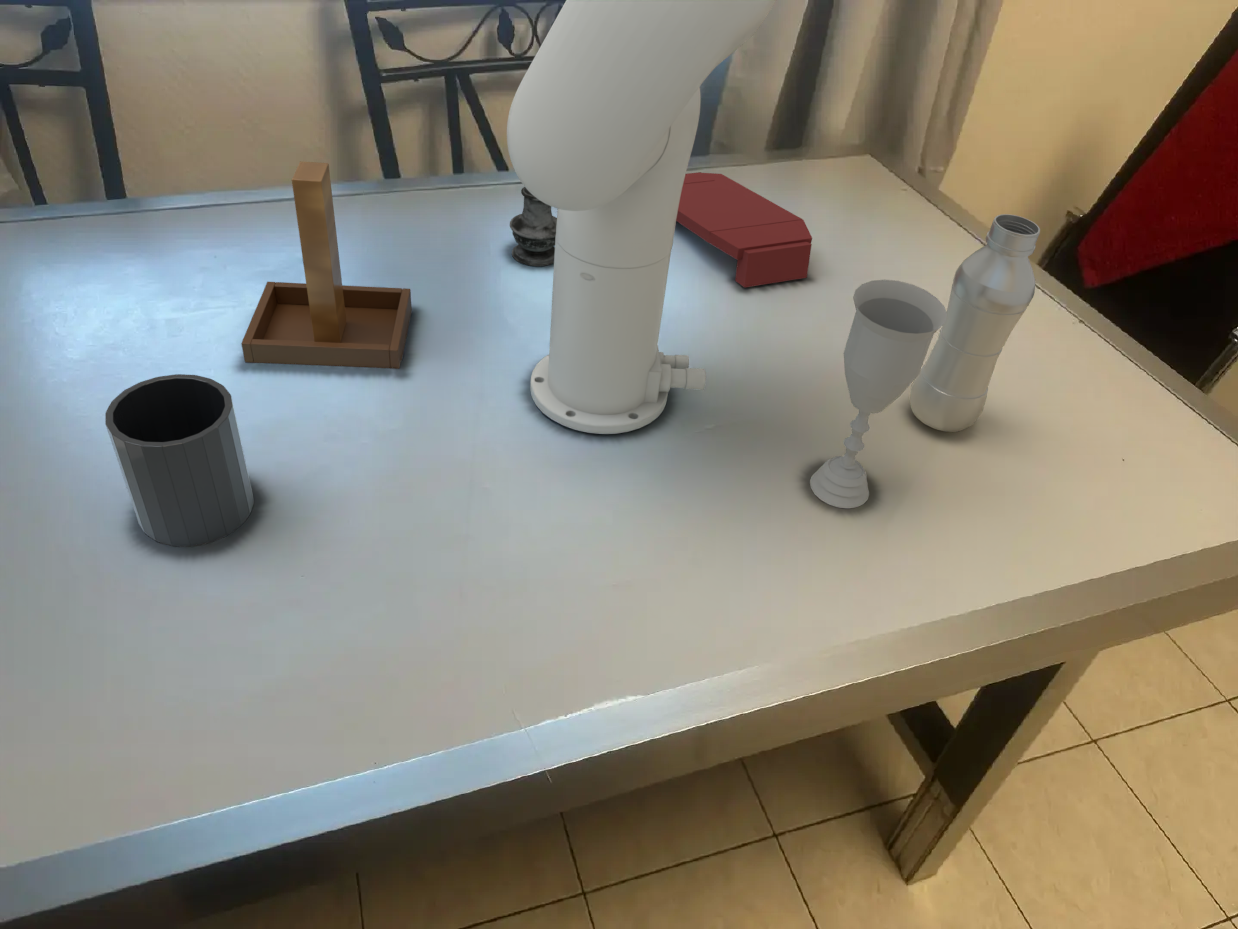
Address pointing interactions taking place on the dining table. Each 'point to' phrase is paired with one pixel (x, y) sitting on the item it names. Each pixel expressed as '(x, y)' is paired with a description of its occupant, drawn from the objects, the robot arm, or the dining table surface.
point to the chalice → (878, 372)
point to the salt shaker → (534, 232)
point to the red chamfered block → (745, 229)
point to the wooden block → (319, 250)
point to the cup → (181, 458)
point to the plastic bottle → (977, 326)
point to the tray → (365, 342)
